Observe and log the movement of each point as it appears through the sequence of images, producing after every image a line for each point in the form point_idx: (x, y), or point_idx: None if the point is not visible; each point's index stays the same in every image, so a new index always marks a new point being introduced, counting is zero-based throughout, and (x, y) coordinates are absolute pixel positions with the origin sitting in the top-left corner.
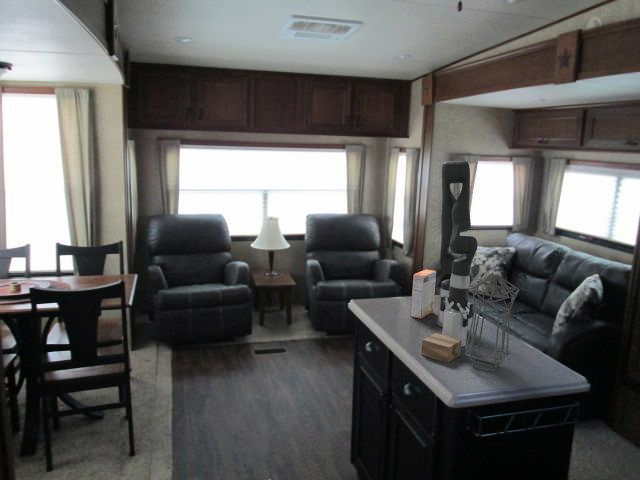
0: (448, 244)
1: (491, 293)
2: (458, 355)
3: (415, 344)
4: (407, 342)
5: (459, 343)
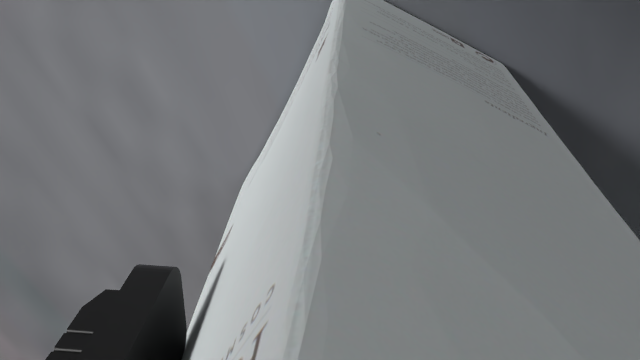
0: None
1: None
2: None
3: None
4: (16, 352)
5: None
